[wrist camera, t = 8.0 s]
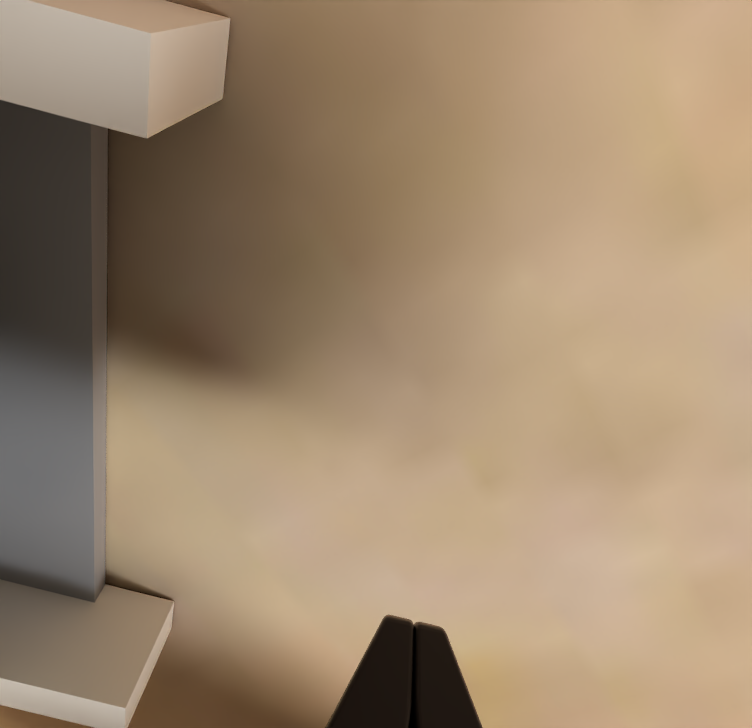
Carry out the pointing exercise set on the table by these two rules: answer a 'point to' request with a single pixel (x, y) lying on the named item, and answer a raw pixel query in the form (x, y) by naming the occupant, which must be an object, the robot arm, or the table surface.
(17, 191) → the tray
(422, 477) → the table surface
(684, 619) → the table surface
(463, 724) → the robot arm
